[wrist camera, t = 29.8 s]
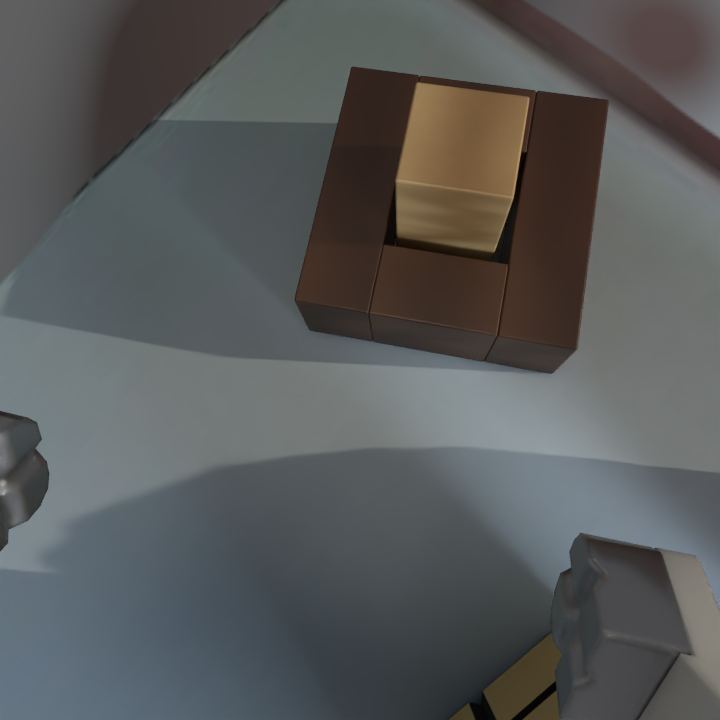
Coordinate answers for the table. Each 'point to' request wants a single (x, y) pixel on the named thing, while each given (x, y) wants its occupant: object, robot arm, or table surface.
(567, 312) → the socket block
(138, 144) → the table surface
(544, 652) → the puzzle cube
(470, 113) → the peg
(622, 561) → the robot arm
